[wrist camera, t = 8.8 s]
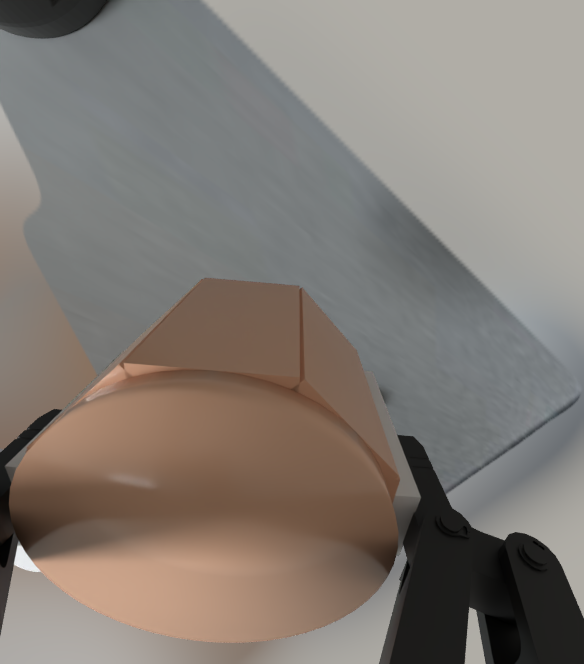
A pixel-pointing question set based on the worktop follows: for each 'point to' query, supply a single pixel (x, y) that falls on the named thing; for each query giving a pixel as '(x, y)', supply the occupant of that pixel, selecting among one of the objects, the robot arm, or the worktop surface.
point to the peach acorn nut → (217, 475)
